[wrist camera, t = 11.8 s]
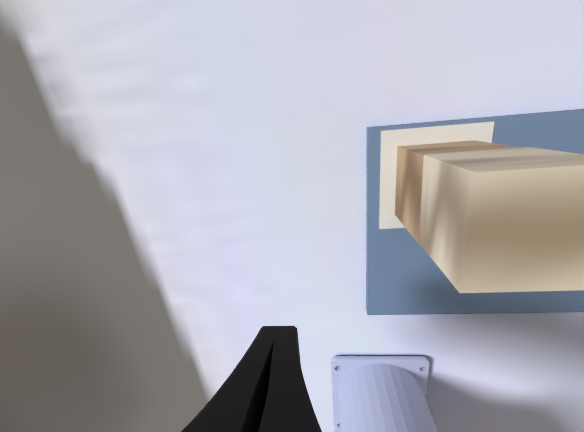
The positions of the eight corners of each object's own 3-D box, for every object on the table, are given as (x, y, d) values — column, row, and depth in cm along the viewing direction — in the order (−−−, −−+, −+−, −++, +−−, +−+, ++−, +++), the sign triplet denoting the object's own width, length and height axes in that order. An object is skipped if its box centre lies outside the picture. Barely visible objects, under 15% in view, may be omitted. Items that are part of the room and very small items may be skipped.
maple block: (511, 238, 14) (594, 289, 10) (418, 242, 15) (459, 293, 10) (527, 146, 13) (634, 161, 8) (423, 154, 13) (475, 172, 9)
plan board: (579, 306, 21) (588, 312, 20) (366, 310, 22) (368, 315, 22) (641, 104, 16) (654, 103, 15) (366, 127, 18) (368, 127, 17)
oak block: (465, 210, 18) (510, 238, 14) (394, 214, 19) (417, 242, 15) (474, 140, 17) (527, 148, 13) (397, 146, 17) (423, 155, 13)
